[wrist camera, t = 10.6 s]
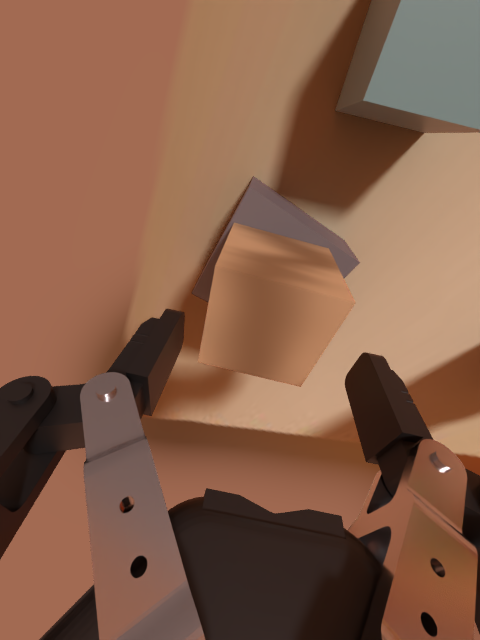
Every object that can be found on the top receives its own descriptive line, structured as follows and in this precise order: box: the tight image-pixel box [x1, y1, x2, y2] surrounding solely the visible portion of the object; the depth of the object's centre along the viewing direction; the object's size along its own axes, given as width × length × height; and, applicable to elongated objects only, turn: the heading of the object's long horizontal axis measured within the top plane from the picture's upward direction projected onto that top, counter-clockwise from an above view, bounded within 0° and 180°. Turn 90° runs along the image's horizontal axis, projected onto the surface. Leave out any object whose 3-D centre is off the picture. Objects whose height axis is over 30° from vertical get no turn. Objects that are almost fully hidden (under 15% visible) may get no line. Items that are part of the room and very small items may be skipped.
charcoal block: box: [192, 176, 360, 302], centre depth 17 cm, size 8×8×4 cm
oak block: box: [198, 223, 355, 387], centre depth 13 cm, size 6×6×6 cm
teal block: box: [335, 0, 480, 133], centre depth 9 cm, size 5×5×5 cm
